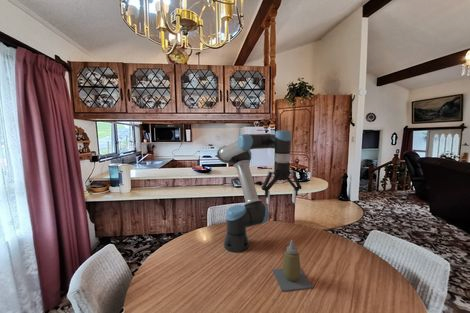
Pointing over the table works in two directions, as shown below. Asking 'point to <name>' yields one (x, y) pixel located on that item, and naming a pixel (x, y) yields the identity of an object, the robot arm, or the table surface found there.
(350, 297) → the table surface
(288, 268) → the squeeze bottle
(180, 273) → the table surface
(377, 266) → the table surface
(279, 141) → the robot arm
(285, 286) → the mat
